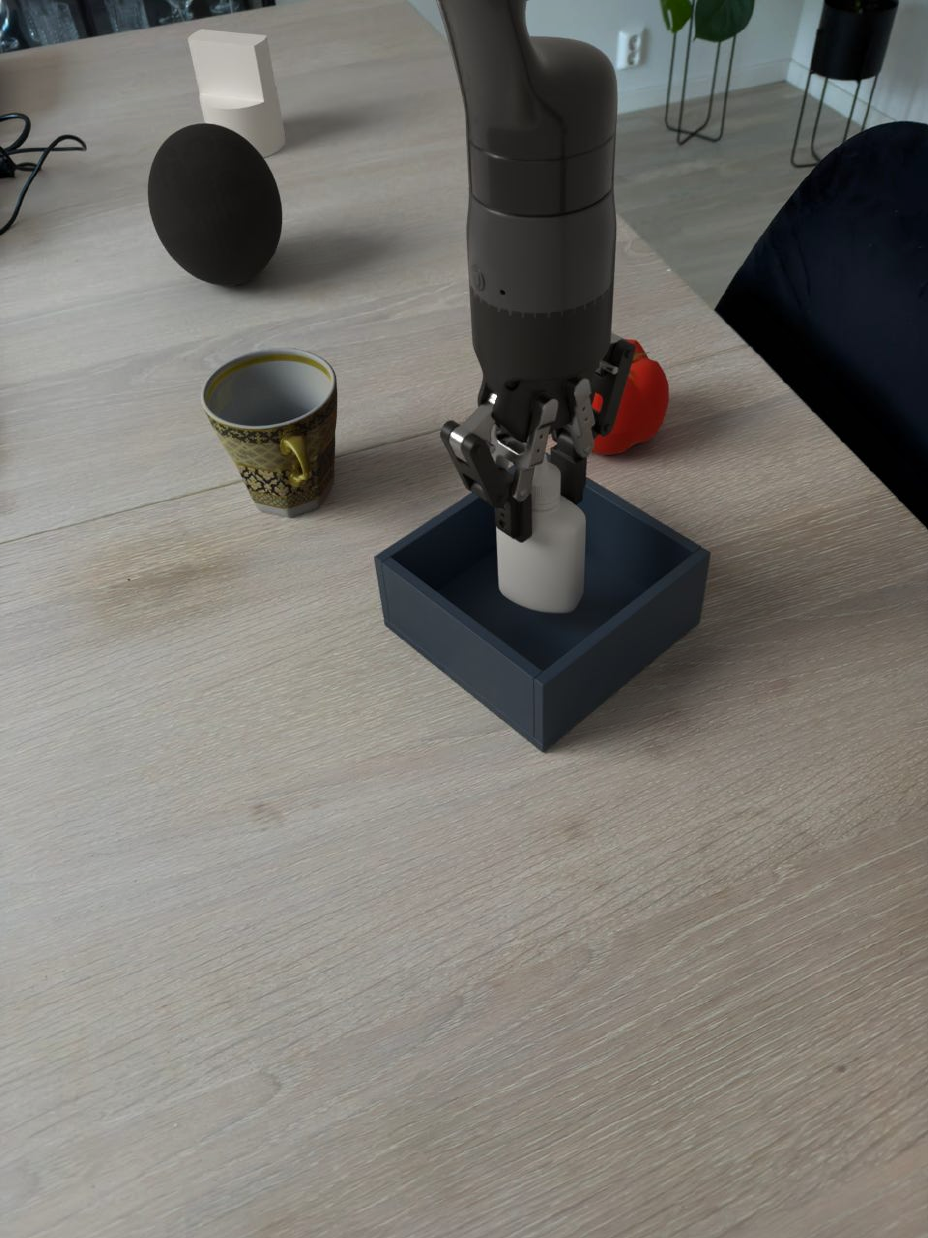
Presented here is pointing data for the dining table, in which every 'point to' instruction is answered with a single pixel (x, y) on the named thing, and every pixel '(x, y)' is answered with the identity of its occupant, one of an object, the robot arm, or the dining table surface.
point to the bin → (537, 641)
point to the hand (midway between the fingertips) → (541, 515)
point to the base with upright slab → (238, 86)
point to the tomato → (636, 405)
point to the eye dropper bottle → (545, 550)
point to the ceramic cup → (277, 425)
